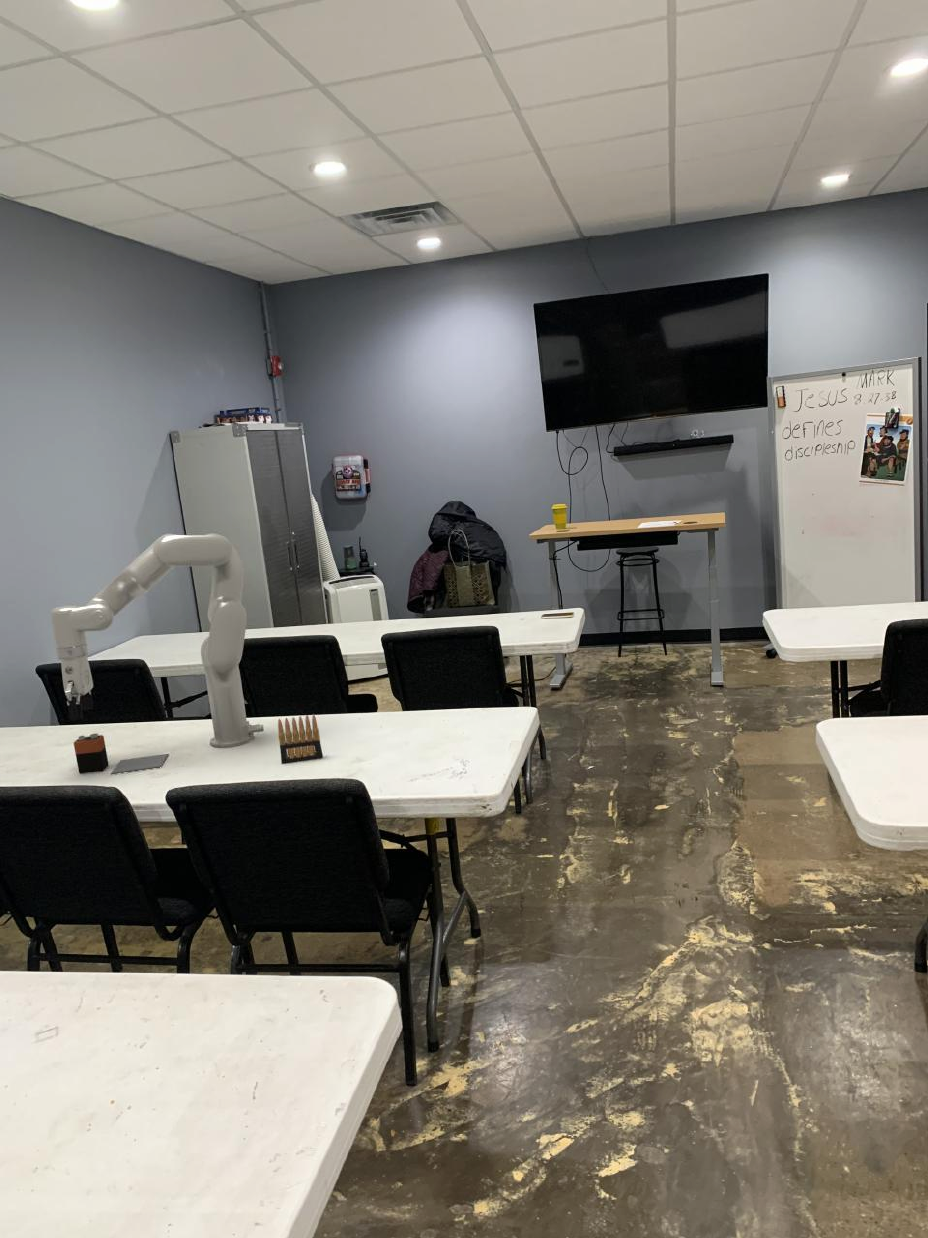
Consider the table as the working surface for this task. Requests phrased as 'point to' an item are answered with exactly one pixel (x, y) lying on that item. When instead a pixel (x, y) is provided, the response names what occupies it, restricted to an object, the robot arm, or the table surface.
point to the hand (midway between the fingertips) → (81, 714)
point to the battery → (91, 753)
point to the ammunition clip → (299, 741)
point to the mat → (140, 763)
